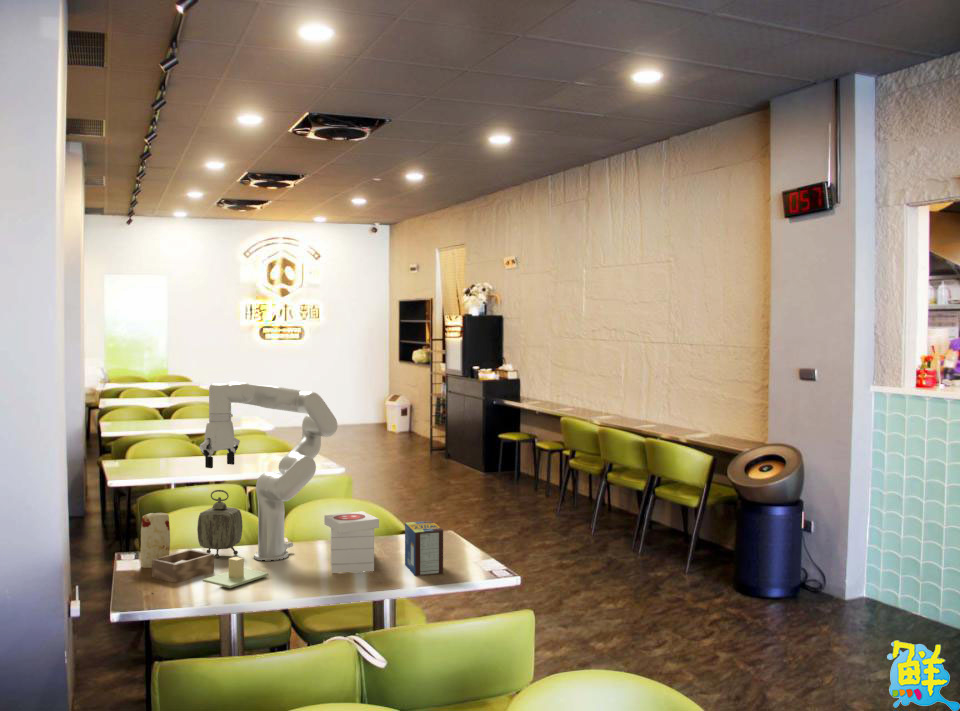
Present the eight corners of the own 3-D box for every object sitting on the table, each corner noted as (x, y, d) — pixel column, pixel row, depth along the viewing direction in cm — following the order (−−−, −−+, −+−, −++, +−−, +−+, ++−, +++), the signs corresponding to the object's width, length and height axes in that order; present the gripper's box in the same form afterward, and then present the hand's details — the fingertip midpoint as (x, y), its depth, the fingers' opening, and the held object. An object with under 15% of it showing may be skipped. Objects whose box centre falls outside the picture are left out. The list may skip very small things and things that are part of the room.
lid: (241, 572, 289) (241, 550, 289) (268, 578, 283) (268, 555, 282) (202, 584, 275) (202, 561, 275) (230, 591, 268) (230, 567, 268)
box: (190, 568, 292) (190, 549, 292) (213, 574, 286) (213, 554, 286) (151, 580, 278) (151, 559, 278) (175, 586, 272) (175, 564, 272)
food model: (139, 572, 288) (139, 515, 287) (141, 566, 294) (141, 511, 293) (169, 570, 290) (169, 513, 290) (171, 565, 297) (171, 509, 296)
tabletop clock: (242, 554, 312) (242, 488, 312) (232, 560, 303) (232, 492, 303) (205, 552, 314) (205, 487, 313) (195, 559, 305) (195, 491, 304)
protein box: (432, 562, 303) (432, 520, 303) (443, 573, 289) (443, 529, 289) (404, 564, 300) (404, 522, 300) (414, 576, 286) (414, 531, 285)
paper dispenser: (374, 551, 318) (374, 504, 318) (379, 573, 289) (380, 522, 288) (324, 553, 315) (324, 506, 314) (324, 575, 285) (324, 523, 285)
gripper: (231, 415, 302) (231, 462, 303) (193, 419, 288) (193, 468, 288) (246, 416, 298) (246, 463, 299) (207, 420, 284) (207, 470, 284)
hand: (220, 466), depth 293 cm, fingers open, 9 cm apart
